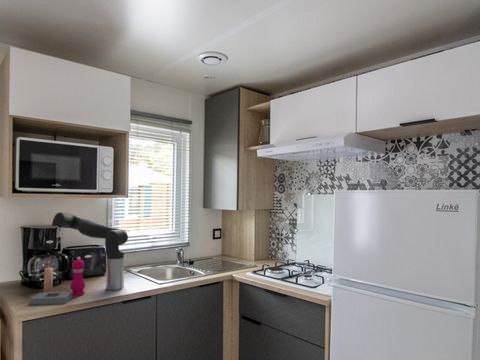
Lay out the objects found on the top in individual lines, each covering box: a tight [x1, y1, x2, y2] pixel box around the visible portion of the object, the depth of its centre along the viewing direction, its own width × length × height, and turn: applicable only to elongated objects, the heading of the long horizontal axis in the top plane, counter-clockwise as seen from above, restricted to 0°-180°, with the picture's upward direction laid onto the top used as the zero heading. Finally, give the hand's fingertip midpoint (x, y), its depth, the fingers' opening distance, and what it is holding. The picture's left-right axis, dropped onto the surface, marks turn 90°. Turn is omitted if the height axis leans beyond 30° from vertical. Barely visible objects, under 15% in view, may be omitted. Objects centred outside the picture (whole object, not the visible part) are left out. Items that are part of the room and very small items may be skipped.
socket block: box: [30, 291, 74, 306], centre depth 170 cm, size 16×10×3 cm, turn 100°
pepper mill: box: [69, 256, 86, 297], centre depth 182 cm, size 7×7×20 cm
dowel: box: [43, 267, 54, 292], centre depth 180 cm, size 4×4×14 cm
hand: (48, 278), depth 182 cm, fingers open, 8 cm apart
